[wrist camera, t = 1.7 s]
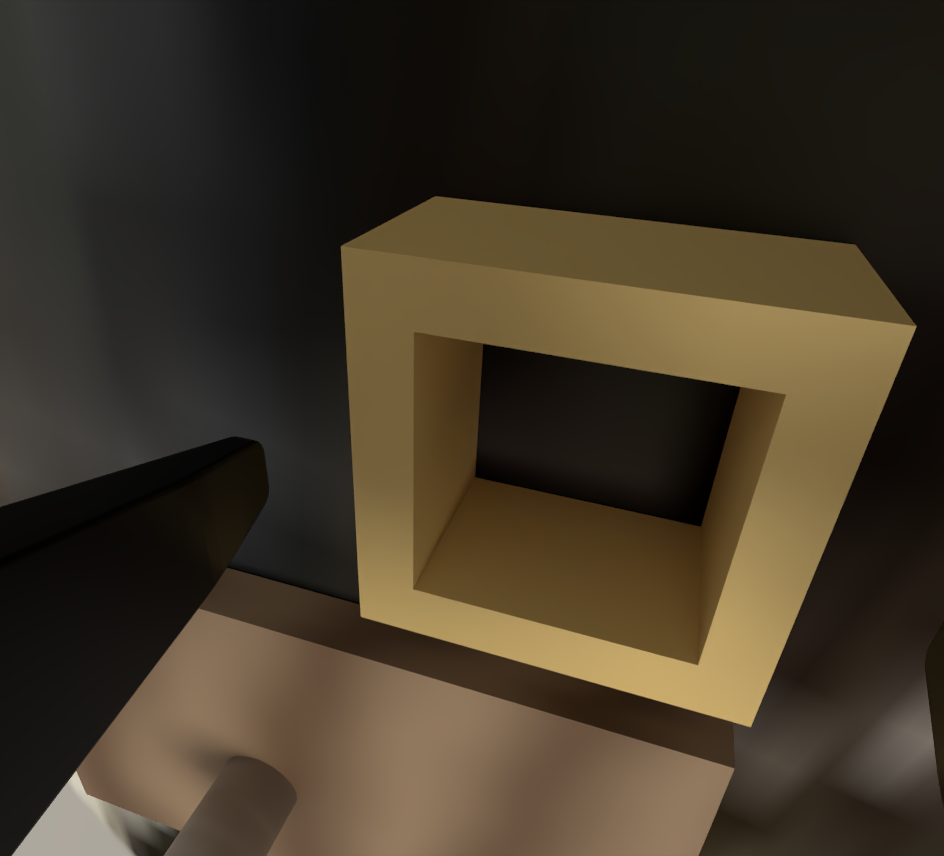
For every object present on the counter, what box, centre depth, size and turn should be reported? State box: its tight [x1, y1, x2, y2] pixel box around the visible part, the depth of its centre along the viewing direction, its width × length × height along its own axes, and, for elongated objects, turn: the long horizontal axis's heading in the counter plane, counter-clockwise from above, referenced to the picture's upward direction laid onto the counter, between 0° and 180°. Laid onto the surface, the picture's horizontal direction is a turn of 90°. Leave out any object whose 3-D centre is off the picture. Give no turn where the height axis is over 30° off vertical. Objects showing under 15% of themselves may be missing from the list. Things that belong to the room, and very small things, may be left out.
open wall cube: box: [341, 196, 917, 727], centre depth 11 cm, size 7×7×4 cm
